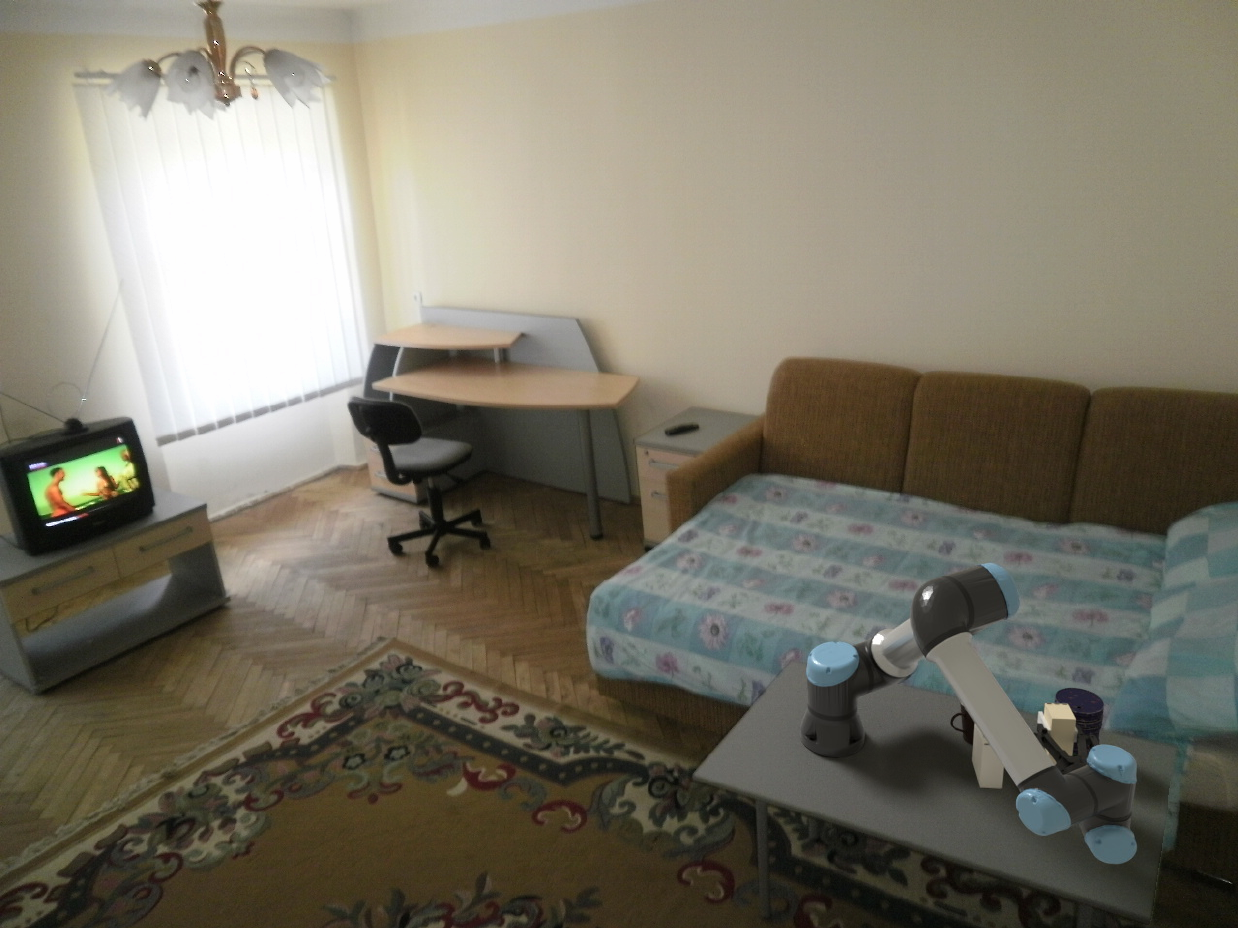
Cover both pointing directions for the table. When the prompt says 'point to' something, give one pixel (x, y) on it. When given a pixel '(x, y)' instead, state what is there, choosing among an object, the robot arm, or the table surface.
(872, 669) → the robot arm
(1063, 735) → the cream rectangular block
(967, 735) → the coffee mug
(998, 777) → the cream box with panel
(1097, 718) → the storage jar
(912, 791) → the table surface
